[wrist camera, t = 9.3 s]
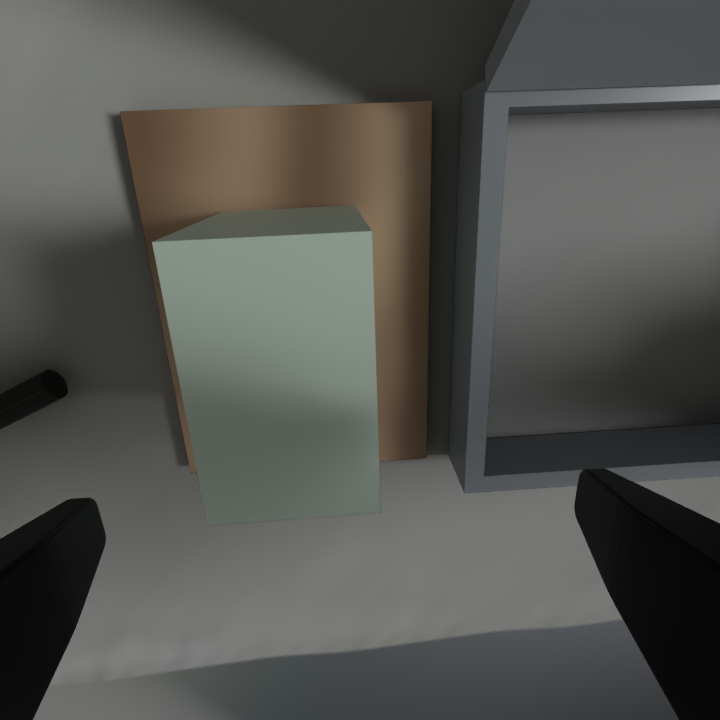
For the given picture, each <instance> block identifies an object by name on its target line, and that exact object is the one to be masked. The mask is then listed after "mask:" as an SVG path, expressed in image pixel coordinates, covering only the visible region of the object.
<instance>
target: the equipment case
mask: <svg viewBox="0 0 720 720" xmlns="http://www.w3.org/2000/svg"><path fill="white" fill-rule="evenodd" d="M485 78H486V79H485V80H483V81H481V82H480V83H478V84H476V85H474V86H472V87H471V88H469V89H467V90H465V91H463V92H462V93H461V118H460V146H459V175H458V203H457V231H456V259H455V287H454V316H453V344H452V372H451V400H450V428H449V457H450V460H451V462H452V465H453V467H454V469H455V472H456V474H457V477H458V479H459V482H460V484H461V486H462V489H463V491H464V493H476V492H491V491H506V490H520V489H535V488H550V487H565V486H577V485H578V479H579V474H580V472H581V471H582V470H584V469H594V468H605V469H607V470H609V471H612V472H614V473H616V474H618V475H620V476H622V477H624V478H626V479H628V480H630V481H632V482H639V481H654V480H668V479H683V478H698V477H713V476H720V424H707V425H691V426H675V427H659V428H644V429H628V430H612V431H596V432H580V433H564V434H549V435H533V436H517V437H501V438H486V437H487V422H488V407H489V393H490V378H491V363H492V348H493V334H494V319H495V304H496V290H497V275H498V260H499V245H500V231H501V216H502V201H503V187H504V172H505V157H506V142H507V128H508V115H524V114H552V113H580V112H608V111H636V110H664V109H692V108H720V0H514V2H513V4H512V6H511V9H510V11H509V13H508V15H507V18H506V20H505V22H504V24H503V27H502V29H501V31H500V33H499V36H498V38H497V40H496V42H495V45H494V47H493V49H492V51H491V54H490V56H489V58H488V60H487V63H486V65H485Z"/></svg>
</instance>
